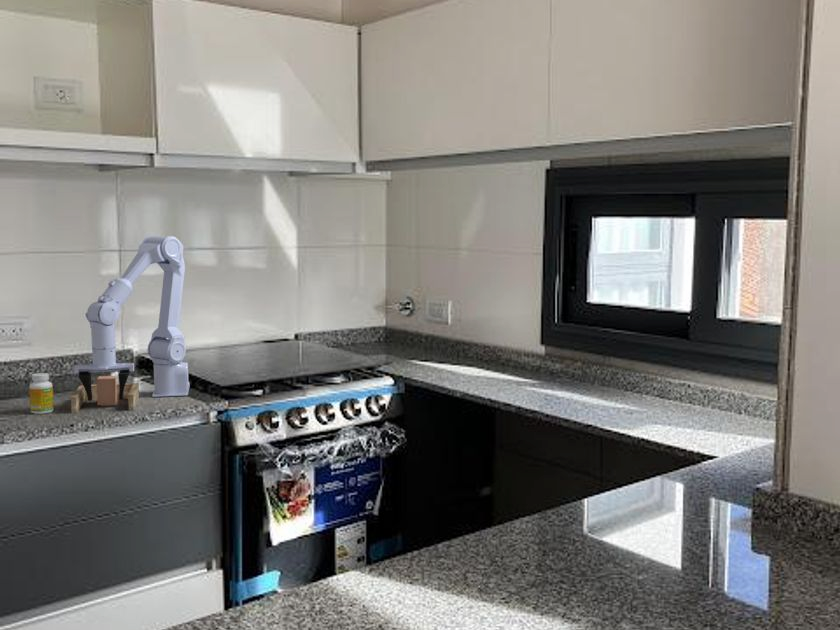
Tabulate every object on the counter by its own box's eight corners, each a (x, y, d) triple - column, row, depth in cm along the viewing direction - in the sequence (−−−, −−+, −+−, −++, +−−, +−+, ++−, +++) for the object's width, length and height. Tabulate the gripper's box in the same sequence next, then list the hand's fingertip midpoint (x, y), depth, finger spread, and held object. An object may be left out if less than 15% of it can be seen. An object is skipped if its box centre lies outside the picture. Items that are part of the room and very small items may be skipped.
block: (117, 401, 235) (116, 375, 234) (115, 404, 230) (114, 378, 229) (99, 402, 234) (98, 376, 233) (97, 405, 229) (96, 379, 228)
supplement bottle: (45, 414, 219) (43, 376, 217) (25, 413, 220) (24, 375, 218) (58, 410, 224) (56, 372, 223) (39, 409, 225) (37, 371, 224)
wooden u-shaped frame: (139, 397, 239) (139, 383, 239) (134, 410, 224) (133, 394, 223) (80, 399, 236) (80, 385, 236) (71, 412, 220) (70, 397, 220)
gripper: (71, 351, 221) (73, 403, 222) (131, 349, 224) (133, 401, 226) (75, 347, 228) (78, 398, 229) (134, 345, 231) (135, 395, 232)
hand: (105, 399), depth 228 cm, fingers open, 7 cm apart
